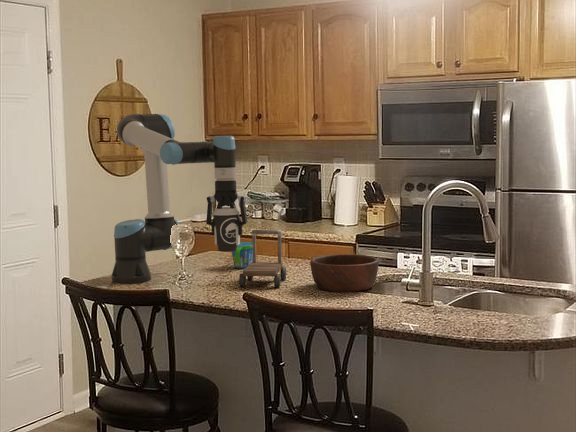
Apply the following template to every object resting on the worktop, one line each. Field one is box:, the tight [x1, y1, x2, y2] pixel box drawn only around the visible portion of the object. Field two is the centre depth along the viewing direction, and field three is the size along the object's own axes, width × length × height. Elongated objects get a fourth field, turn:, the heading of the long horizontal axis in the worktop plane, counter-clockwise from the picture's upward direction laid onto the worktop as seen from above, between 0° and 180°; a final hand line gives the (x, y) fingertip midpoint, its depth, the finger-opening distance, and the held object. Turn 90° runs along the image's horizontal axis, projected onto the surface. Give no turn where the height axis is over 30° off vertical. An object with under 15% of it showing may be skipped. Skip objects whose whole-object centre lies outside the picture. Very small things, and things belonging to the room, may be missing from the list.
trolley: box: [238, 229, 287, 288], centre depth 290 cm, size 19×14×19 cm
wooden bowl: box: [309, 253, 380, 293], centre depth 282 cm, size 25×25×10 cm
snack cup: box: [231, 241, 253, 270], centre depth 326 cm, size 16×10×10 cm
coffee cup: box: [212, 206, 241, 252], centre depth 273 cm, size 10×10×15 cm
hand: (227, 244), depth 273 cm, fingers closed on coffee cup, 7 cm apart
